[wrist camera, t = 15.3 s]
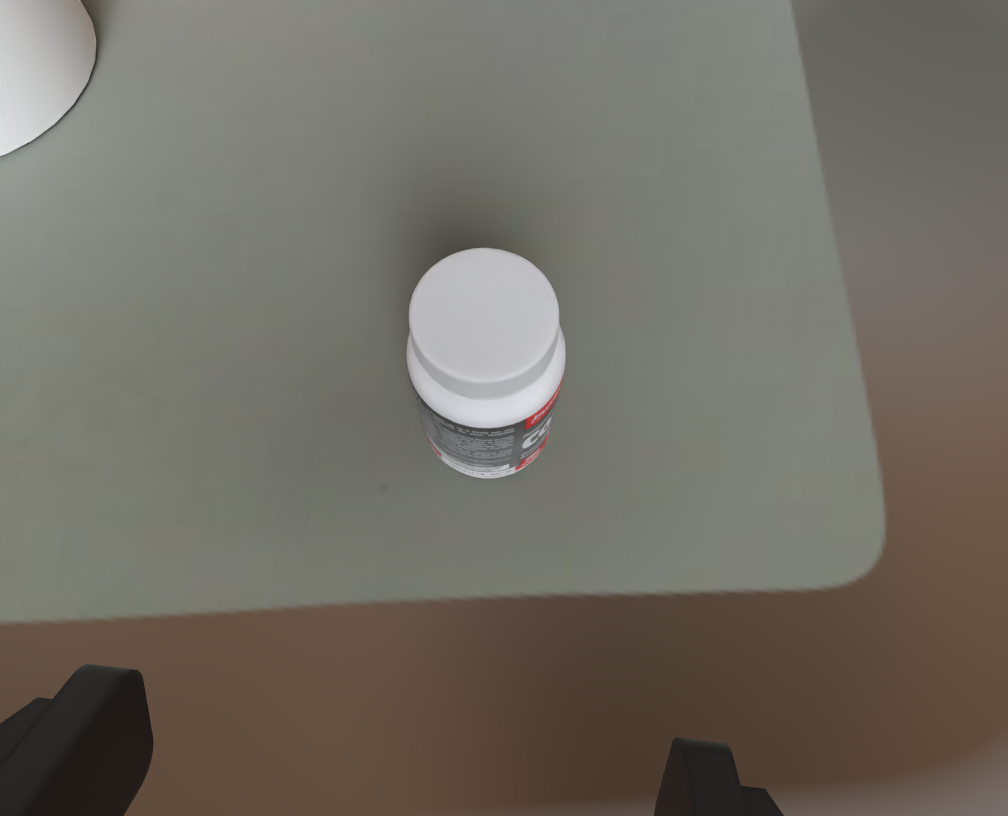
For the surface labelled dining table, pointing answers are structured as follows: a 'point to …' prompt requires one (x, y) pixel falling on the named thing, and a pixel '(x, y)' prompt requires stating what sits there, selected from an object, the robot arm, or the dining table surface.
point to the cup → (41, 65)
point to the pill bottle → (485, 360)
